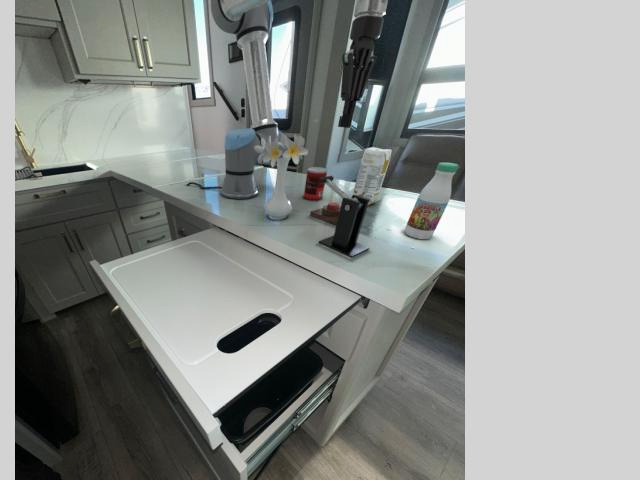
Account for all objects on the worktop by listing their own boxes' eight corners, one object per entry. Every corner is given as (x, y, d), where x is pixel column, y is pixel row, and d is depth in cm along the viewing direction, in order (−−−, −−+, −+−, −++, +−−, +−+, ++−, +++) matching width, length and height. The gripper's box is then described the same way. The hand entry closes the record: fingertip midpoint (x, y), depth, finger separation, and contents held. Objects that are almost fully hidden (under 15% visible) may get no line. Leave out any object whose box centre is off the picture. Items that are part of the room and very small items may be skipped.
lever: (315, 183, 71) (319, 175, 69) (327, 180, 74) (332, 172, 72) (349, 214, 67) (355, 207, 65) (361, 210, 69) (366, 203, 67)
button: (324, 208, 90) (326, 203, 89) (331, 206, 92) (332, 201, 91) (333, 211, 88) (334, 206, 87) (340, 209, 90) (341, 204, 88)
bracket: (318, 245, 76) (328, 195, 68) (335, 238, 80) (347, 190, 72) (351, 260, 69) (367, 207, 61) (368, 251, 73) (385, 201, 65)
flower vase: (264, 206, 102) (269, 129, 87) (307, 218, 93) (321, 134, 77) (243, 215, 94) (244, 133, 79) (287, 229, 85) (298, 138, 69)
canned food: (320, 195, 114) (325, 167, 107) (323, 201, 108) (329, 171, 101) (302, 194, 115) (306, 166, 108) (304, 200, 108) (308, 171, 102)
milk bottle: (402, 228, 87) (430, 160, 74) (429, 231, 84) (462, 162, 72) (404, 237, 81) (435, 165, 69) (433, 241, 79) (470, 168, 66)
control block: (309, 217, 93) (311, 206, 91) (325, 212, 98) (328, 201, 95) (335, 227, 86) (338, 215, 84) (351, 221, 91) (354, 209, 88)
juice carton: (368, 207, 102) (384, 151, 91) (348, 201, 108) (362, 148, 96) (377, 203, 106) (395, 149, 95) (358, 198, 111) (373, 146, 100)
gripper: (367, 11, 62) (342, 129, 77) (396, 19, 69) (367, 127, 83) (340, 16, 67) (321, 127, 82) (369, 23, 73) (347, 125, 88)
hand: (345, 127), depth 82 cm, fingers closed
